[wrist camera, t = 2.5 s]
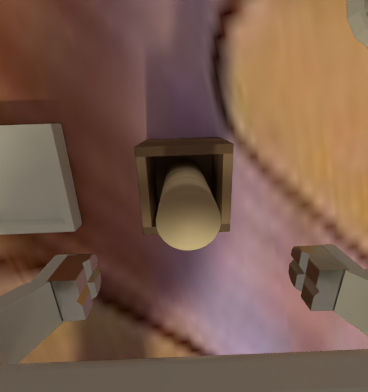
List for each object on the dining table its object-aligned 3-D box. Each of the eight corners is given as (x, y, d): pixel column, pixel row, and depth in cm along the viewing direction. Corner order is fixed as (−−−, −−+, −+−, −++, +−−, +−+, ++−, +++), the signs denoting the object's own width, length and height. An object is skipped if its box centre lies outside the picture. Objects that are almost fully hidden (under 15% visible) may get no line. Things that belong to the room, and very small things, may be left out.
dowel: (201, 191, 25) (220, 249, 14) (167, 192, 25) (158, 251, 14) (201, 156, 24) (221, 190, 12) (165, 158, 24) (153, 192, 12)
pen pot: (216, 203, 27) (229, 231, 20) (152, 206, 26) (143, 234, 20) (218, 137, 24) (233, 143, 17) (146, 139, 24) (134, 147, 17)
